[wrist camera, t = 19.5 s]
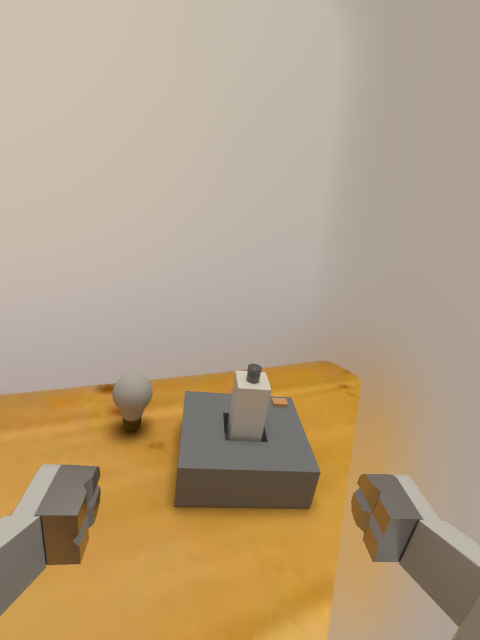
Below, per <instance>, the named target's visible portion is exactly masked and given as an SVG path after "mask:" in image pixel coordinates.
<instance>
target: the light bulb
mask: <svg viewBox="0 0 480 640" xmlns="http://www.w3.org/2000/svg"><path fill="white" fill-rule="evenodd" d="M151 398H152V386H151V383H150V382H149V380H148V379H147V378H146V377H144V376H143V375H140V374H136V373H132V374H127V375H125V376H123V377H121V378H120V379H119V380H118V381H117V382H116V384H115V386H114V388H113V400H114V403H115V404H116V406H117V407H118V408H119V409H120V410H121V413H122V416H123V421H124V422H123V423H124V428H125V429H127V430H130V431H133V430H136V429H138V428H139V427H140V425H141V416H142V414H143V411H144V409H145V407H146V406H147V405H148V404H149V402H150V400H151Z"/></svg>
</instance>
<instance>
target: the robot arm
mask: <svg viewBox="0 0 480 640" xmlns="http://www.w3.org/2000/svg"><path fill="white" fill-rule="evenodd" d="M99 478H100V468H99V467H97V466H79V465H55V464H43V465H42V466H41V467H40V468H39V469H38V471H37V473H36V475H35V476H34V478H33V480H32V481H31V483H30V485H29V486H28V488H27V490H26V491H25V493H24V495H23V496H22V498H21V500H20V501H19V503H18V505H17V507H16V508H15V510H14V512H13V513H12V515H11V516H4V517H3V518H1V519H0V616H1V615H2V614H3V613H4V612H5V611H6V610H7V608H8V607H9V606H10V605H11V604H12V603H13V602H14V601H15V600H16V599H17V598H18V597H19V596H20V595H21V594H22V592H23V591H24V590H25V589H26V588H27V587H28V586H29V585H30V584H31V583H32V582H33V581H34V580H35V579H36V578H37V577H38V575H39V574H40V573H41V572H42V571H43V570H44V569H45V568H46V565H66V564H81V561H82V558H83V555H84V552H85V549H86V546H87V543H88V540H89V528H90V527H91V526H92V525H93V524H94V522H95V519H96V516H97V512H98V507H99V503H100V487H99V486H98V485H97V483H98V480H99ZM357 483H358V485H359V487H360V488H359V489H358V490H357V491H356V492H354V494H353V497H352V500H351V505H352V514H353V517H354V520H355V522H356V525H357V526H358V527H359V528H360V529H361V530H362V531H364V537H363V541H364V543H365V545H366V548H367V550H368V552H369V554H370V557H371V559H372V561H374V562H400V563H399V564H400V565H401V566H402V567H403V568H404V569H405V571H406V572H407V573H408V574H409V575H410V576H411V577H412V578H413V579H414V580H415V581H416V582H417V583H418V584H419V585H420V586H421V588H423V590H424V591H425V592H426V593H427V594H428V595H429V596H430V597H431V598H432V599H433V600H434V601H435V602H436V603H437V604H438V606H440V608H441V609H442V610H443V611H444V612H445V613H446V614H447V615H448V616H449V617H450V618H451V619H452V620H453V621H454V623H456V625H457V626H458V627H459V629H458V630H457V632H456V633H455V635H454V636H453V638H452V640H480V546H479V545H478V544H476V543H475V542H474V541H472V540H471V539H469V538H468V537H467V536H465V535H464V534H463V533H461V532H460V531H459V530H457V529H456V528H454V527H453V526H452V525H450V524H449V523H448V522H446V521H445V520H439V518H438V516H437V515H436V514H435V512H434V511H433V509H432V508H431V506H430V505H429V504H428V502H427V501H426V499H425V498H424V496H423V495H422V494H421V492H420V491H419V489H418V488H417V487H416V485H415V484H414V482H413V481H412V479H411V478H410V477H409V476H407V475H388V474H362V475H361V476H360V477H359V480H358V482H357Z"/></svg>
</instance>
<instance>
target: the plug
mask: <svg viewBox="0 0 480 640" xmlns="http://www.w3.org/2000/svg"><path fill="white" fill-rule="evenodd" d="M261 369H262V368H261V366H259V365H257V364H250V365H249V366H248V371H235V377H234V384H233V391H232V397H231V404H230V411H229V417H228V424H227V430H226V437H225V438H226V440H228V441H252V442H261V439H262V434H263V429H264V424H265V419H266V414H267V409H268V404H269V399H270V394H271V388H270V385H269V381H268V378H267V375H266V373H263V372H261Z"/></svg>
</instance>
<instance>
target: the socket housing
mask: <svg viewBox="0 0 480 640" xmlns="http://www.w3.org/2000/svg"><path fill="white" fill-rule="evenodd" d="M231 397H232V394H223V393H207V392H190V391H185V400H184V410H183V420H182V430H181V439H180V449H179V459H178V469H177V480H176V492H175V503H174V507H231V508H303V509H310V506H311V502H312V499H313V496H314V492H315V489H316V486H317V482H318V479H319V475H320V470H319V467H318V465H317V462H316V460H315V457H314V455H313V452H312V449H311V447H310V444H309V442H308V439H307V437H306V434H305V432H304V429H303V427H302V424H301V422H300V419H299V416H298V414H297V411H296V409H295V406H294V404H293V401H292V399H291V398H288V397H272V396H270V399H269V404H268V409H267V414H266V419H265V424H264V429H263V434H262V439H261V442H252V441H228V440H226V438H225V437H226V430H227V424H228V417H229V411H230V404H231Z"/></svg>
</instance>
